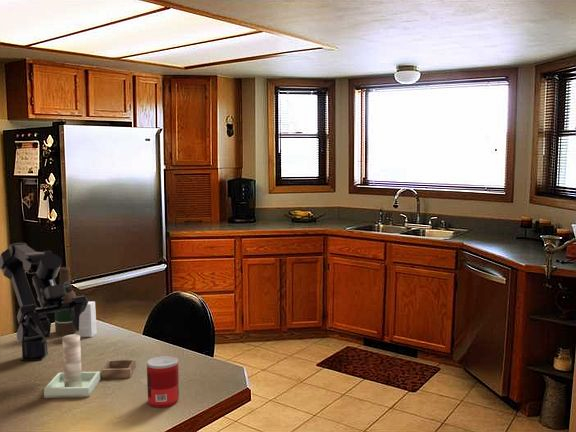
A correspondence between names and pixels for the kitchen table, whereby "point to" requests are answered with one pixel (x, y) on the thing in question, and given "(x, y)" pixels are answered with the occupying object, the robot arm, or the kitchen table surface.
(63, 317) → the beer bottle
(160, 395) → the canned food
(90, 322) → the skincare box
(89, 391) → the tray
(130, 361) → the brown square open box
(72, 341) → the peg
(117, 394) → the kitchen table surface
